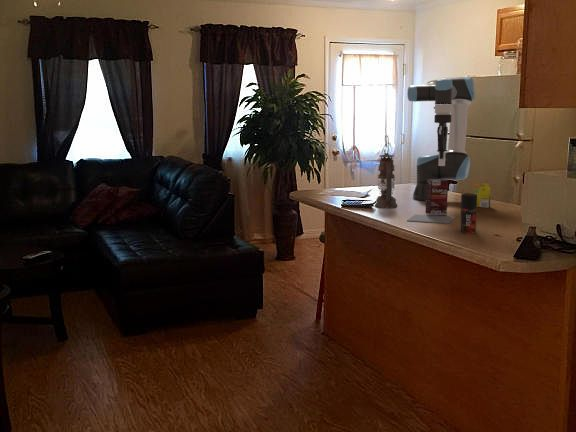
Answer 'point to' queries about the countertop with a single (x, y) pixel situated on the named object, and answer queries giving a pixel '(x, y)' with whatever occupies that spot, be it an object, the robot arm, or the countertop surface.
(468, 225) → the deodorant
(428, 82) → the robot arm
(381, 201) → the lantern
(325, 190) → the countertop surface
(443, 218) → the mat
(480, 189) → the crayon box
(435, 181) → the supplement box
